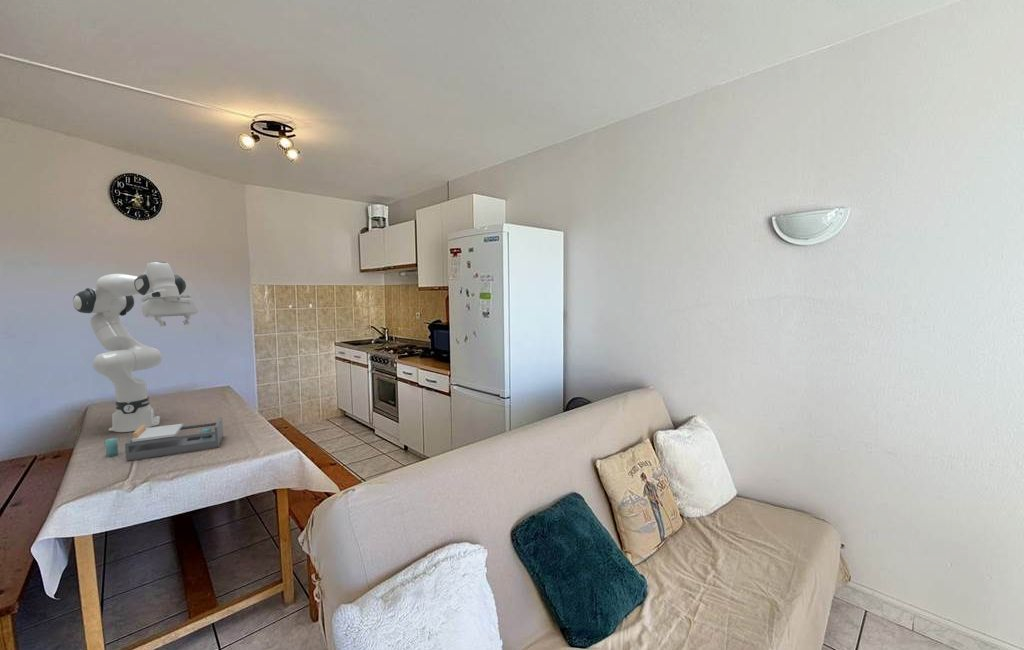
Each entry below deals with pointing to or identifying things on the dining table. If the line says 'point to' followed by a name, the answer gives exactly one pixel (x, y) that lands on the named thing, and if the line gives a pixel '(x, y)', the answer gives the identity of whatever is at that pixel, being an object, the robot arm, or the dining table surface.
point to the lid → (156, 432)
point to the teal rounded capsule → (111, 447)
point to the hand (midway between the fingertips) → (175, 325)
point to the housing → (176, 442)
